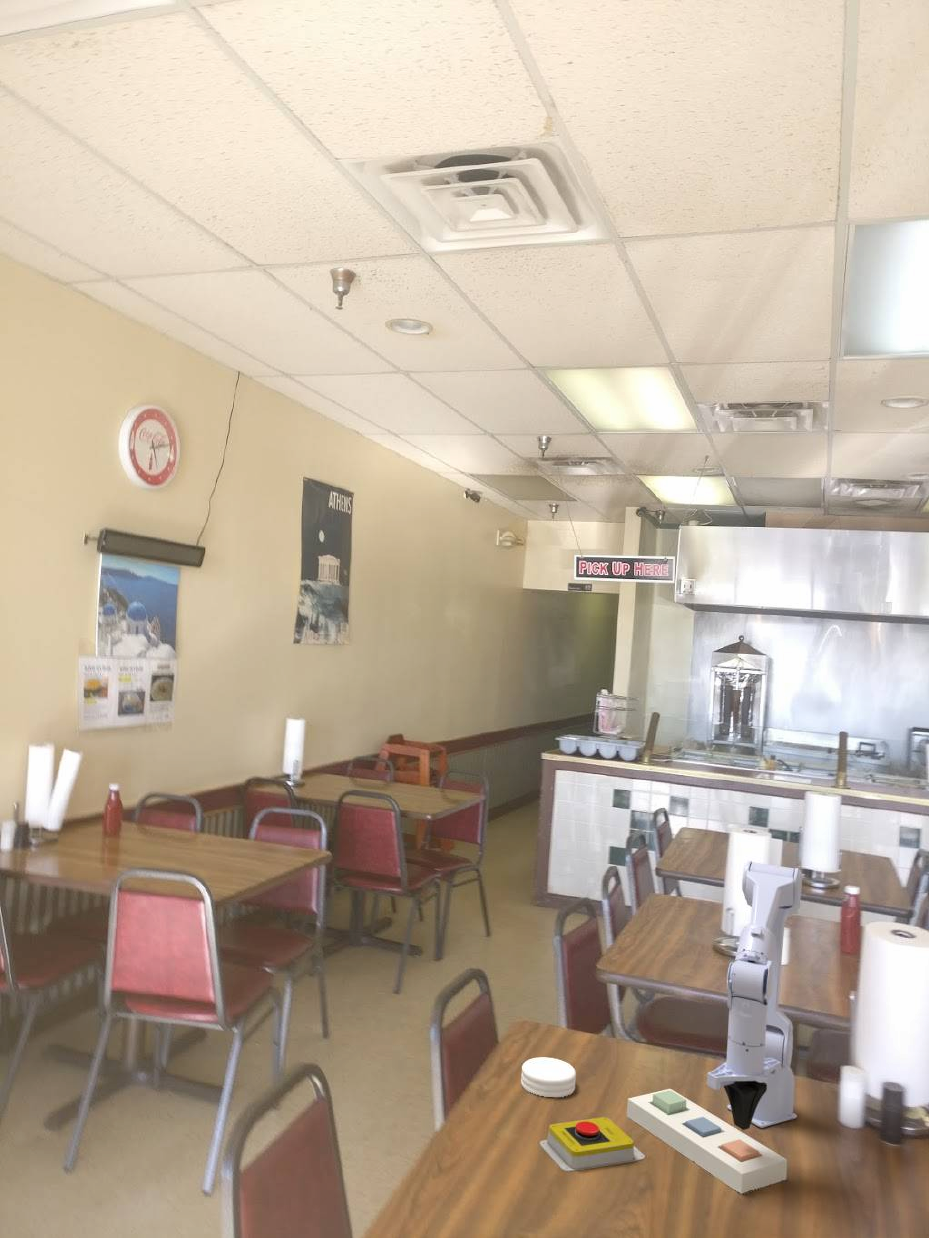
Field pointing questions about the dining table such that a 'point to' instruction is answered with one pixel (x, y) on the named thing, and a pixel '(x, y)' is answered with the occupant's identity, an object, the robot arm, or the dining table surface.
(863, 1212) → the dining table surface
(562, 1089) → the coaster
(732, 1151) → the terracotta button
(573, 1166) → the emergency button
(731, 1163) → the button panel
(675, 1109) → the sage-green button
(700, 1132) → the slate-blue button
